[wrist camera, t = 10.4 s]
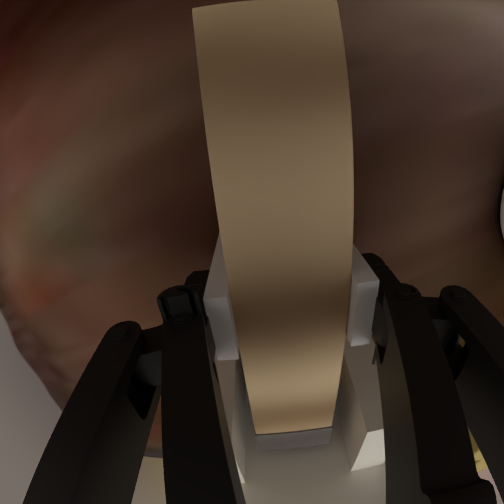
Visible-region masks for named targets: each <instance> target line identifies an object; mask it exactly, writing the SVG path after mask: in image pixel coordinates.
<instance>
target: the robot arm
mask: <svg viewBox="0 0 504 504" xmlns="http://www.w3.org/2000/svg"><path fill="white" fill-rule="evenodd" d="M157 303H158V306H159V309H160V312H161V315H162V319H163V324H162V325H160V326H157V327H153V328H149V329H145V330H142V329H141V327H140V325H139V324H138V323H136V322H134V321H124V322H120V323H117V324H115V325H114V326H112V327H111V328H110V329H109V330H108V331H107V332H106V334H105V335H104V337H103V339H102V341H101V342H100V344H99V346H98V347H97V349H96V351H95V353H94V354H93V356H92V358H91V360H90V361H89V363H88V365H87V367H86V369H85V370H84V372H83V374H82V376H81V378H80V380H79V381H78V383H77V385H76V387H75V389H74V391H73V393H72V395H71V397H70V399H69V400H68V402H67V404H66V406H65V408H64V410H63V412H62V414H61V417H60V419H59V421H58V422H57V425H56V427H55V429H54V431H53V433H52V435H51V437H50V439H49V442H48V444H47V446H46V448H45V450H44V452H43V455H42V457H41V459H40V462H39V464H38V466H37V469H36V471H35V473H34V476H33V478H32V481H31V483H30V486H29V489H28V491H27V493H26V496H25V499H24V502H23V504H131V502H132V498H133V493H134V490H135V486H136V482H137V478H138V474H139V470H140V467H141V463H142V459H143V455H144V452H145V448H146V444H147V441H148V437H149V434H150V430H151V427H152V423H153V420H154V416H155V413H156V409H157V406H158V403H159V399H160V396H161V416H162V448H163V467H164V481H165V494H166V504H246V501H245V497H244V493H243V489H242V485H241V481H240V477H239V473H238V469H237V465H236V460H235V456H234V452H233V447H232V443H231V438H230V433H229V429H228V424H227V419H226V414H225V409H224V404H223V399H222V394H221V389H220V384H219V378H218V373H217V368H216V364H215V361H214V359H215V351H216V355H217V359H218V360H235V359H239V343H238V338H237V332H236V327H235V321H234V316H233V310H232V304H231V298H230V292H229V286H228V280H227V274H226V268H225V262H224V256H223V250H222V243H221V237H220V232H219V236H218V240H217V244H216V248H215V251H214V255H213V259H212V264H211V268H210V270H204V271H193V272H192V273H191V274H190V275H189V276H188V277H187V279H186V281H185V284H184V285H179V286H174V287H171V288H168V289H166V290H164V291H163V292H162V293H161V294H159V295H158V298H157ZM372 332H373V334H374V336H375V338H376V345H375V350H374V354H373V359H372V365H374V364H375V360H376V363H377V371H378V379H379V387H380V396H381V406H382V417H383V430H384V446H385V471H386V504H497V501H496V494H495V491H494V487H493V485H492V484H491V483H490V481H488V480H484V479H481V478H480V477H479V476H478V473H477V469H476V464H475V458H474V453H473V448H472V444H471V439H470V435H469V431H468V428H469V430H470V432H471V434H472V436H473V438H474V440H475V442H476V444H477V446H478V448H479V450H480V452H481V454H482V456H483V458H484V460H485V462H486V464H487V466H488V468H489V471H490V473H491V475H492V477H493V479H494V481H495V484H496V486H497V489H498V491H499V493H500V496H501V498H502V501H503V503H504V327H503V326H502V325H501V324H500V322H499V321H498V320H497V319H496V318H495V317H494V316H493V315H492V314H491V313H490V312H489V311H488V310H487V309H486V308H485V307H484V306H483V305H482V304H481V303H480V302H479V301H478V300H477V299H476V298H475V297H474V296H473V295H472V294H471V293H470V292H469V291H468V290H466V289H465V288H462V287H461V286H456V285H452V286H446V287H444V288H443V289H442V290H441V292H440V296H439V298H437V297H422V296H421V293H420V292H419V291H418V289H417V288H415V287H413V286H412V285H408V284H404V283H400V282H399V280H398V279H397V278H396V276H395V275H394V274H393V273H392V271H391V270H389V268H388V266H387V265H385V263H384V261H383V260H382V259H381V258H380V257H378V256H377V255H375V254H373V253H366V254H360V252H359V251H358V250H357V248H356V247H355V245H354V244H353V250H352V268H351V283H350V296H349V308H348V318H347V327H346V335H347V338H348V340H349V343H350V346H351V347H352V346H358V345H364V344H369V343H370V341H371V335H372ZM461 337H462V339H463V340H464V341H465V345H464V347H462V346H461V345H460V344H459V341H460V338H461ZM467 426H468V427H467Z"/></svg>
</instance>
